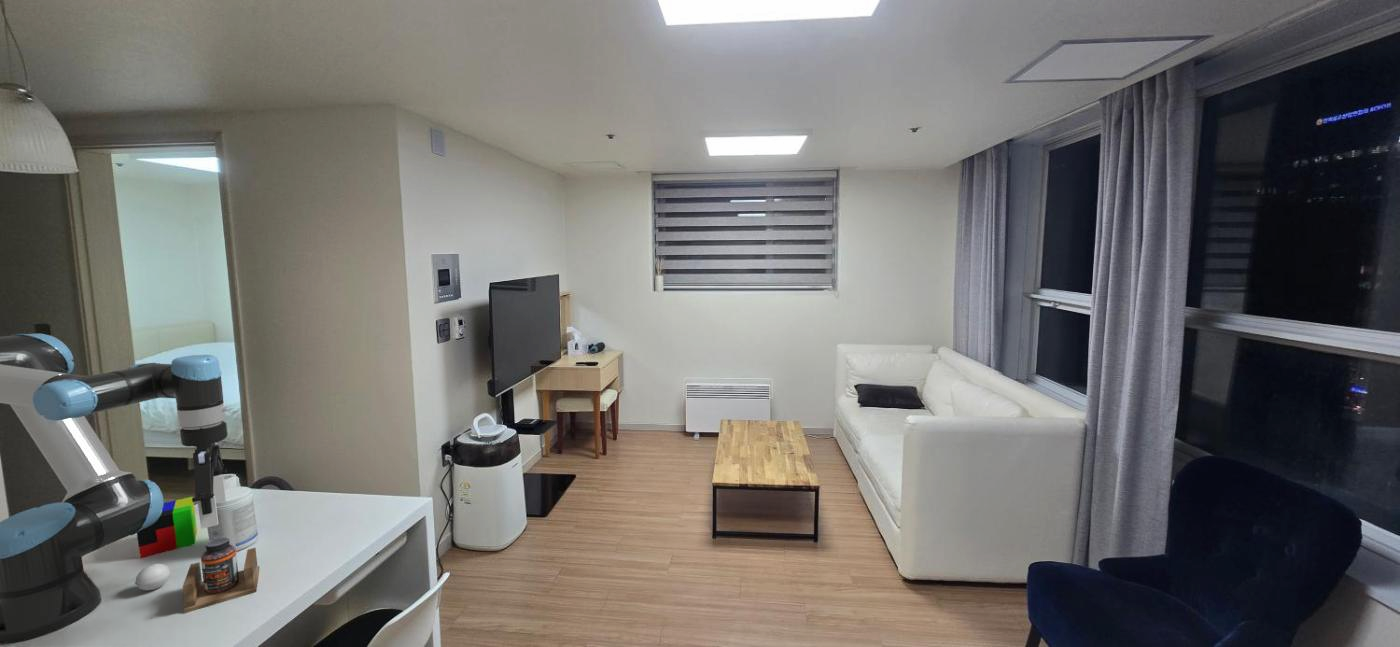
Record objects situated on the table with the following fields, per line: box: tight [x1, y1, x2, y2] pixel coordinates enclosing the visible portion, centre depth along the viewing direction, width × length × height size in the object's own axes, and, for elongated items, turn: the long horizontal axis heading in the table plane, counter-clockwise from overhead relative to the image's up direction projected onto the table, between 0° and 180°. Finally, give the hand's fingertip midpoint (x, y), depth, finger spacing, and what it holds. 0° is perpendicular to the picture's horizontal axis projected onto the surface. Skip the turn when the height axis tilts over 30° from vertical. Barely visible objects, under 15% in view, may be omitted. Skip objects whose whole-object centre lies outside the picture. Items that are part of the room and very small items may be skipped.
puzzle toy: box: [136, 496, 198, 559], centre depth 138 cm, size 10×10×10 cm
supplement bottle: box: [200, 537, 239, 594], centre depth 119 cm, size 6×6×11 cm
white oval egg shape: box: [124, 563, 171, 591], centre depth 120 cm, size 8×6×6 cm
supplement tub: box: [207, 486, 259, 552], centre depth 137 cm, size 10×10×15 cm
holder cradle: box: [182, 547, 261, 614], centre depth 120 cm, size 12×11×6 cm
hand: (214, 513), depth 118 cm, fingers open, 13 cm apart
